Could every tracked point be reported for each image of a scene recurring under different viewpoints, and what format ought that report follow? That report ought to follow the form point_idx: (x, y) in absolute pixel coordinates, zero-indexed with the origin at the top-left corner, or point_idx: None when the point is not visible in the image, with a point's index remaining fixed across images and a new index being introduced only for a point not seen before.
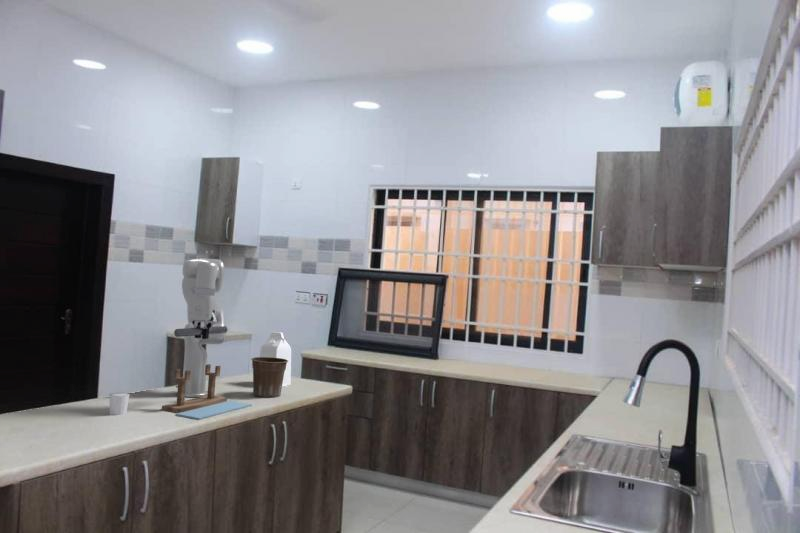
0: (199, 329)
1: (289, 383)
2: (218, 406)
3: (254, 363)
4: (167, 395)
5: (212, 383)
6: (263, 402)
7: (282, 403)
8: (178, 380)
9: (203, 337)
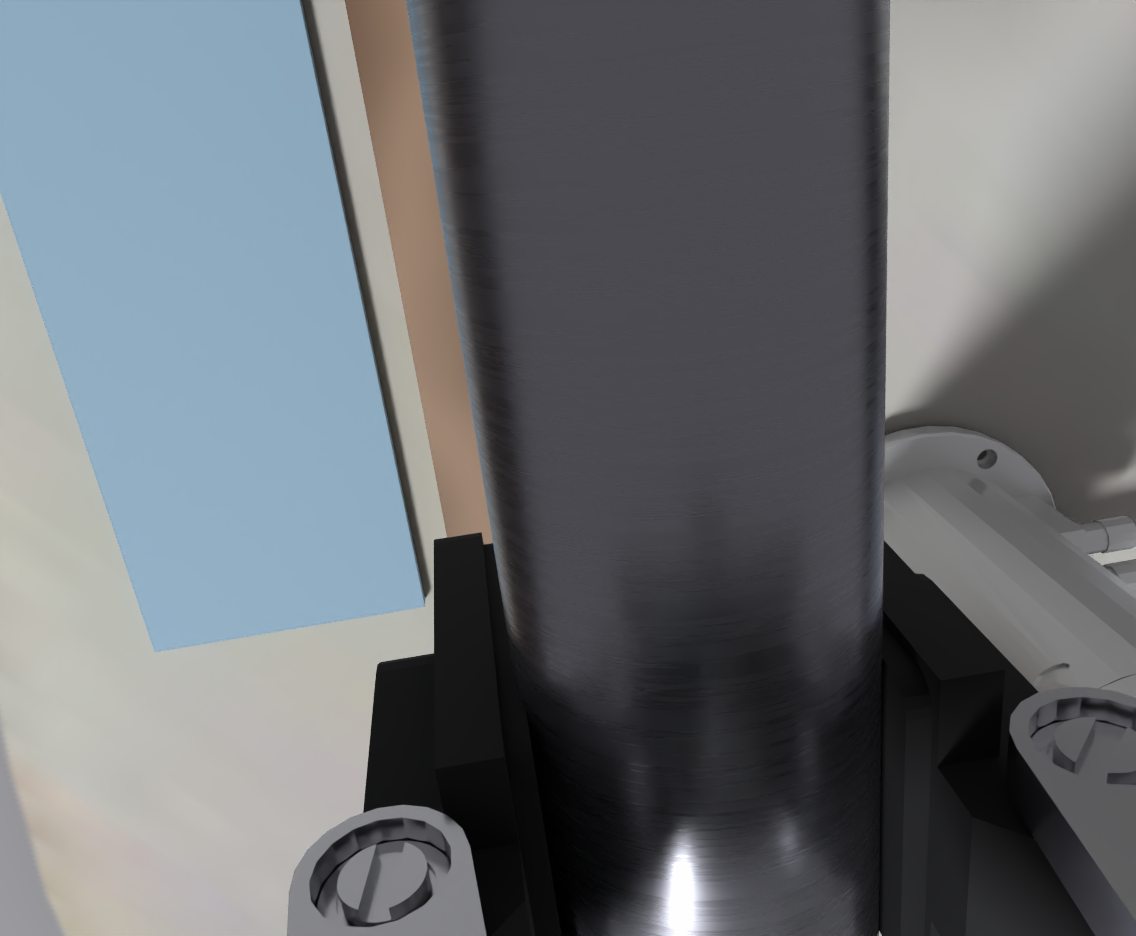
0: (537, 558)
1: None
2: (265, 338)
3: None
4: (1068, 358)
5: None
6: (217, 807)
7: (78, 897)
8: None
9: (435, 565)
